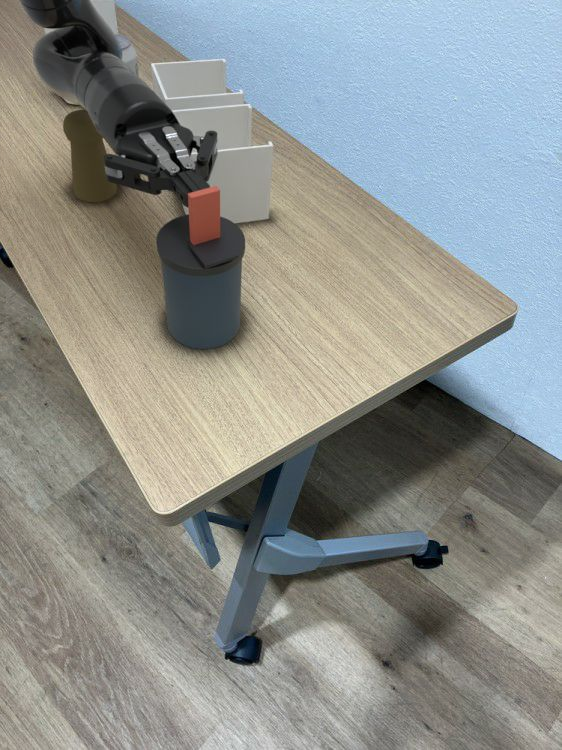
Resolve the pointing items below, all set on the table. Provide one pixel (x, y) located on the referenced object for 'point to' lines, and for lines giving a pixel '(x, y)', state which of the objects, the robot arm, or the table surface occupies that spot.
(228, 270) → the travel cup
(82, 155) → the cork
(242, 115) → the storage container
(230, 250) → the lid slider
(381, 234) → the table surface
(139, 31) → the table surface
